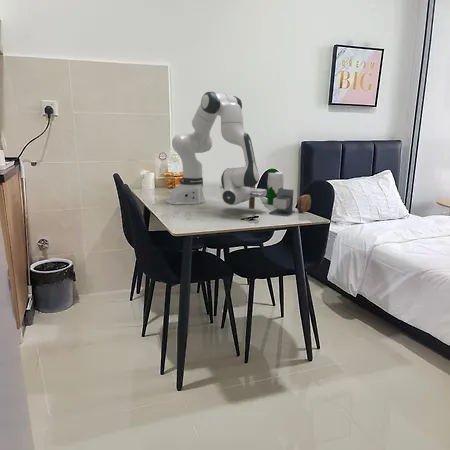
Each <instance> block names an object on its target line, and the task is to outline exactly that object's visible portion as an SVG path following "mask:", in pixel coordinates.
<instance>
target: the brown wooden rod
mask: <svg viewBox="0 0 450 450" xmlns="http://www.w3.org/2000/svg"><path fill="white" fill-rule="evenodd" d="M249 188H256V185H255V186H254V187H249ZM255 202H256V197H250V199H249V200H248V209H249V210H253V209H255V204H256V203H255Z"/></svg>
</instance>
